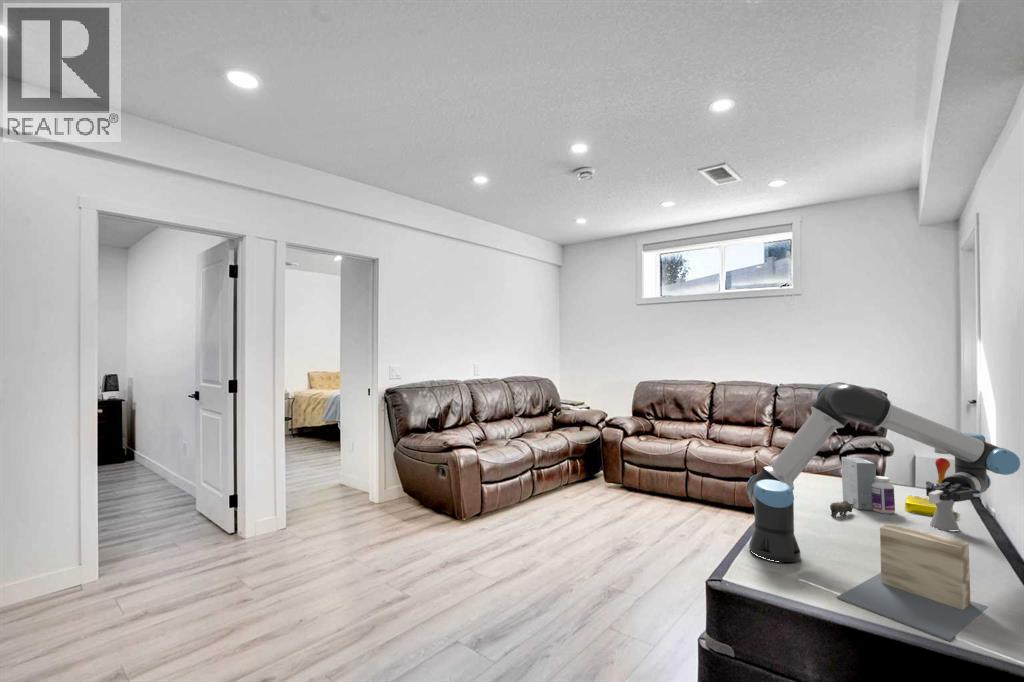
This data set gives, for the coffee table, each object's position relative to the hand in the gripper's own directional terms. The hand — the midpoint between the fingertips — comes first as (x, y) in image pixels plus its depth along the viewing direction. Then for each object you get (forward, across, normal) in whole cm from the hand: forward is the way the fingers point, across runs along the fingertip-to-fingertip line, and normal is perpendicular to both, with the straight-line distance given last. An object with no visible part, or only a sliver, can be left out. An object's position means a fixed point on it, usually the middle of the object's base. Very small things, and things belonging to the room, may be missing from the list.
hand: (931, 498), depth 140 cm
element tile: (-85, +27, -26) cm, 93 cm away
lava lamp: (-65, +16, -26) cm, 71 cm away
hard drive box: (-69, +47, -26) cm, 87 cm away
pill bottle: (-67, +37, -26) cm, 81 cm away
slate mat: (+17, 0, -25) cm, 30 cm away
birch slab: (+8, 0, -25) cm, 26 cm away
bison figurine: (-48, +44, -26) cm, 70 cm away
